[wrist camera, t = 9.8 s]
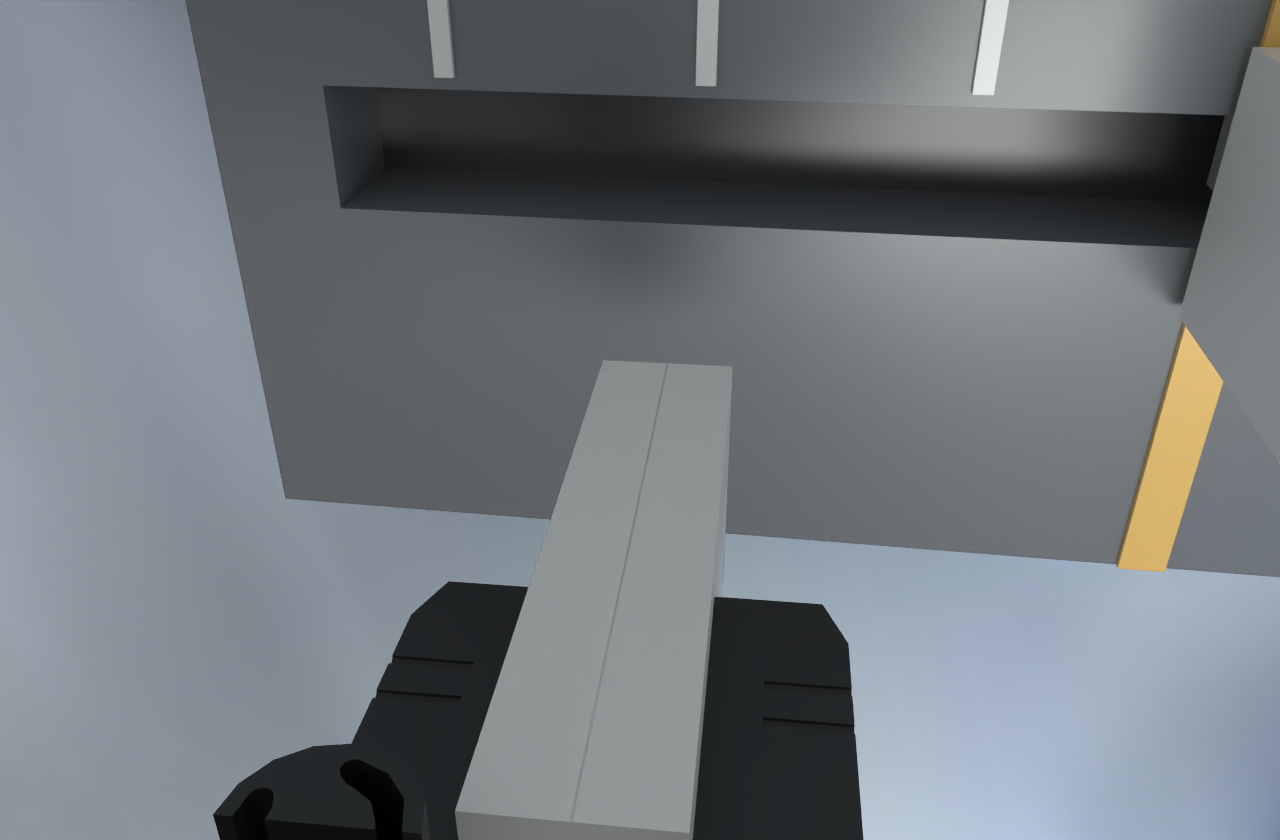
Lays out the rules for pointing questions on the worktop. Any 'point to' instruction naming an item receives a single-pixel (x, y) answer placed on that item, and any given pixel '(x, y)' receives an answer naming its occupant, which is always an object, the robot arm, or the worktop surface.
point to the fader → (1244, 252)
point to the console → (753, 256)
